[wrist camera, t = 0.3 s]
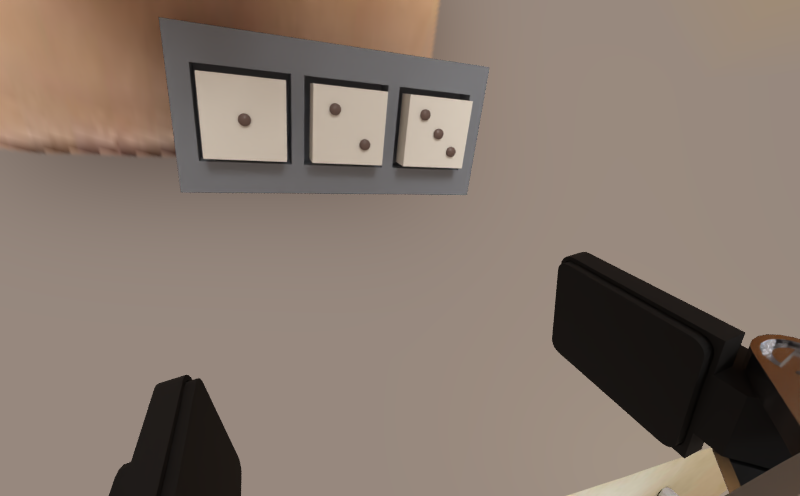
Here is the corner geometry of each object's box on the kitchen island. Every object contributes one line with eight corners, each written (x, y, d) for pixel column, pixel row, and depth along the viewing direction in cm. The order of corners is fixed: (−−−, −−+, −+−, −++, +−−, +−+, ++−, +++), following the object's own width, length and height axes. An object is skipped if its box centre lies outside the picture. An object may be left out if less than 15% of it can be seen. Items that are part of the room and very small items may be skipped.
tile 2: (309, 83, 30) (313, 83, 28) (380, 90, 32) (388, 91, 30) (309, 158, 32) (312, 163, 30) (375, 160, 34) (382, 165, 33)
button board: (168, 23, 28) (158, 16, 25) (470, 67, 37) (489, 67, 34) (187, 181, 32) (180, 192, 29) (451, 186, 42) (466, 194, 39)
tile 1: (198, 70, 27) (194, 70, 25) (284, 80, 29) (286, 80, 27) (206, 153, 29) (202, 159, 28) (285, 157, 32) (287, 162, 30)
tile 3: (402, 93, 33) (411, 94, 31) (462, 99, 35) (474, 101, 33) (395, 161, 35) (403, 166, 33) (452, 164, 37) (462, 168, 35)
